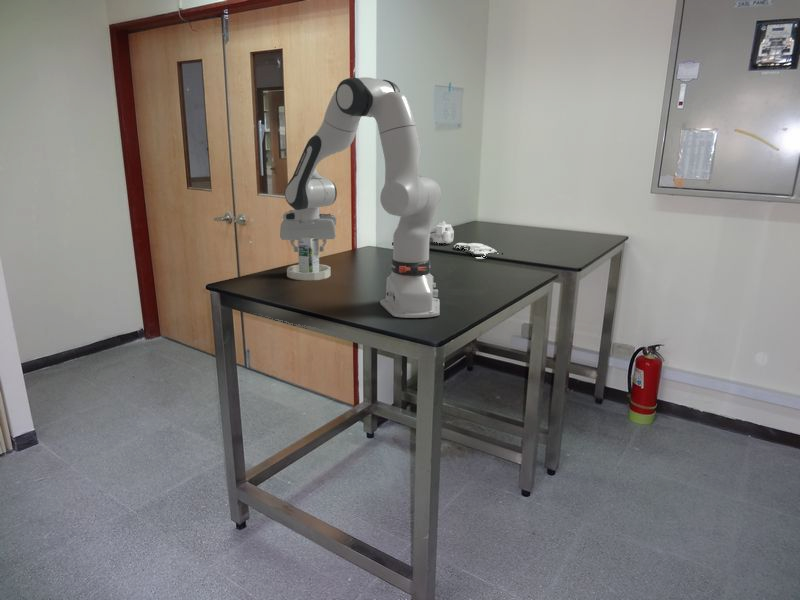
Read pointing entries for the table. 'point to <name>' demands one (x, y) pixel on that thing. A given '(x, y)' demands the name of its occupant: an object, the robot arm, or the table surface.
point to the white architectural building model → (477, 248)
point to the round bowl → (322, 274)
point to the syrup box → (308, 255)
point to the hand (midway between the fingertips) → (308, 251)
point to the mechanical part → (443, 233)
